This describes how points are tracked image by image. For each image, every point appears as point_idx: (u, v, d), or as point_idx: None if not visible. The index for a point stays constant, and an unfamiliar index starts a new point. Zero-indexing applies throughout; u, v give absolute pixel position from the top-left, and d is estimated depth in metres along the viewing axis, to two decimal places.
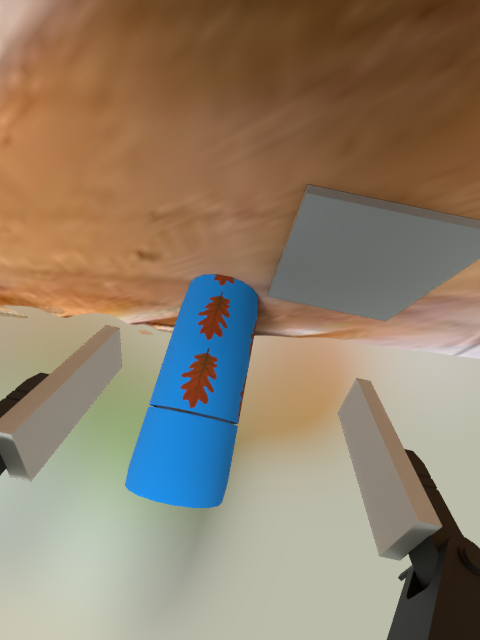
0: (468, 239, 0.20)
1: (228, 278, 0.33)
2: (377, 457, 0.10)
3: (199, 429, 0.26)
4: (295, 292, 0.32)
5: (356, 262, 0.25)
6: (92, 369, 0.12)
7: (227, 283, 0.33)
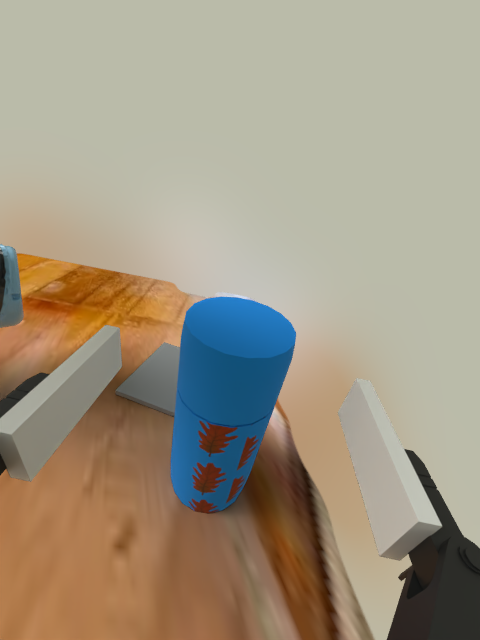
0: (162, 349, 0.55)
1: None
2: (377, 457, 0.10)
3: None
4: None
5: (169, 376, 0.49)
6: (92, 369, 0.12)
7: None
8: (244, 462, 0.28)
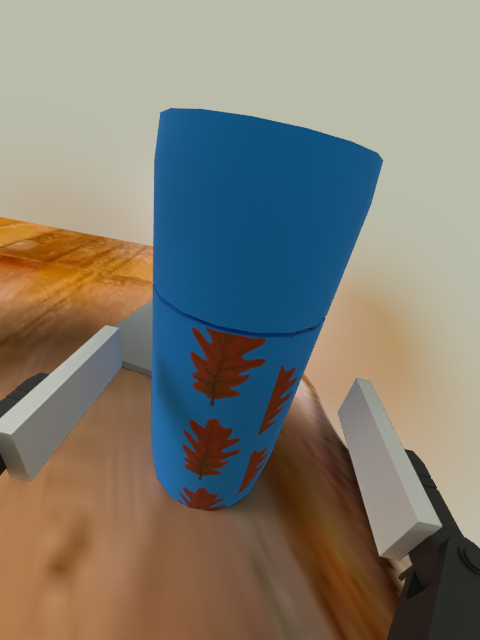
0: (150, 306, 0.44)
1: None
2: (377, 457, 0.10)
3: None
4: None
5: None
6: (92, 369, 0.12)
7: None
8: (270, 421, 0.16)
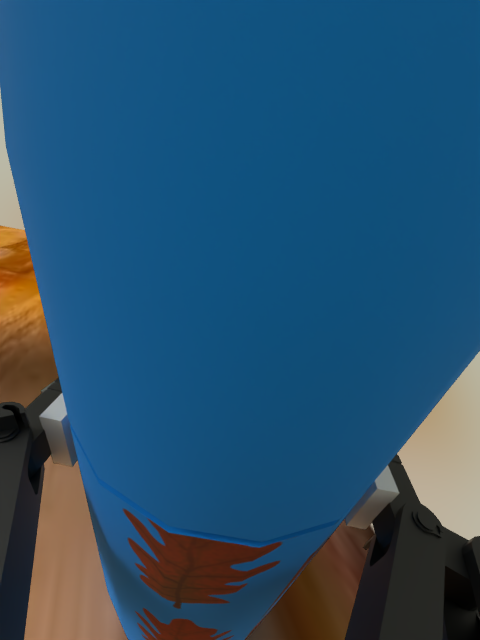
0: None
1: None
2: None
3: None
4: None
5: None
6: None
7: None
8: (283, 592, 0.10)
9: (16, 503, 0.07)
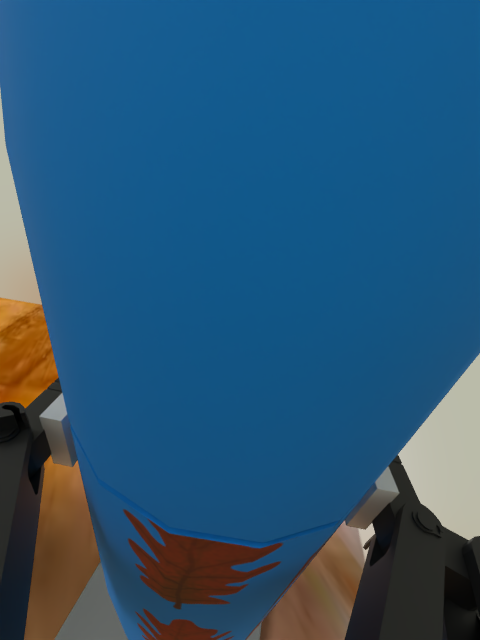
0: None
1: None
2: None
3: None
4: None
5: None
6: None
7: None
8: (284, 592, 0.10)
9: (16, 503, 0.07)
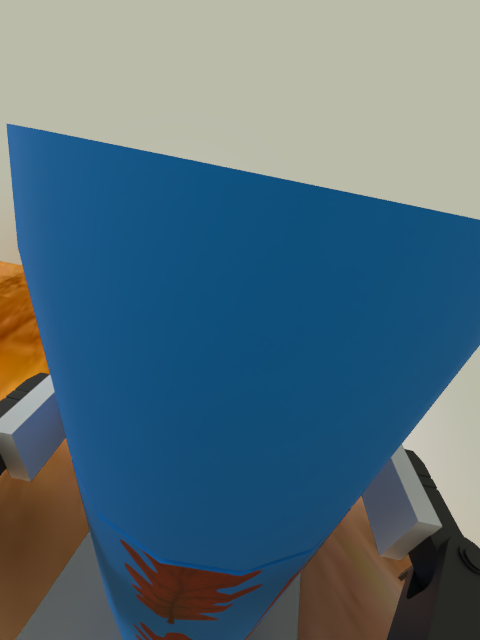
0: None
1: None
2: None
3: None
4: None
5: None
6: None
7: None
8: (272, 605, 0.10)
9: None
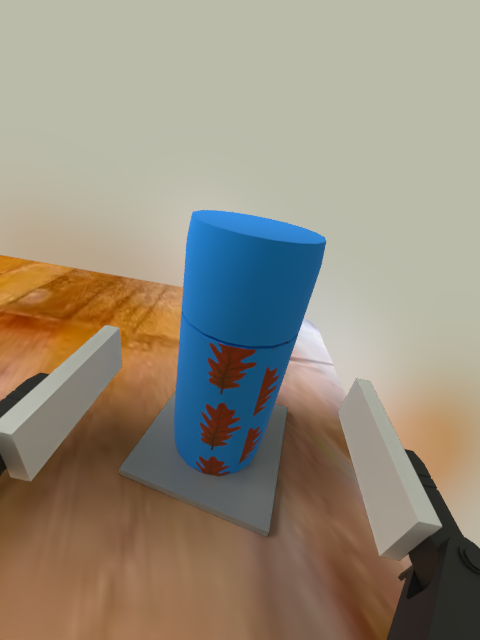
0: None
1: None
2: (377, 457, 0.10)
3: None
4: (252, 489, 0.27)
5: None
6: (92, 369, 0.12)
7: None
8: (261, 406, 0.23)
9: None
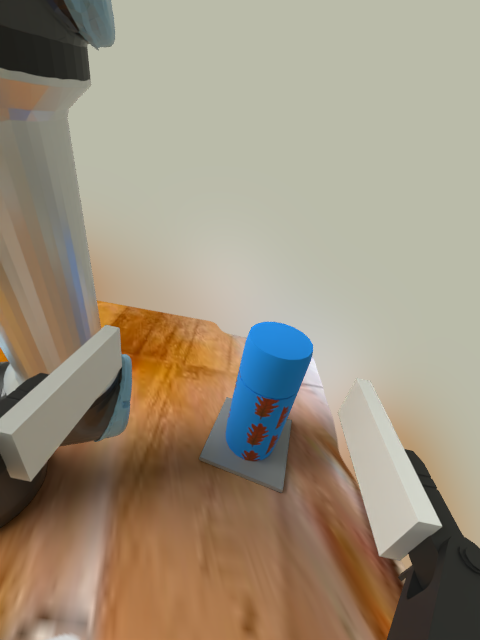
0: (227, 405, 0.59)
1: None
2: (377, 457, 0.10)
3: None
4: (272, 468, 0.48)
5: None
6: (92, 369, 0.12)
7: None
8: (279, 424, 0.45)
9: None
